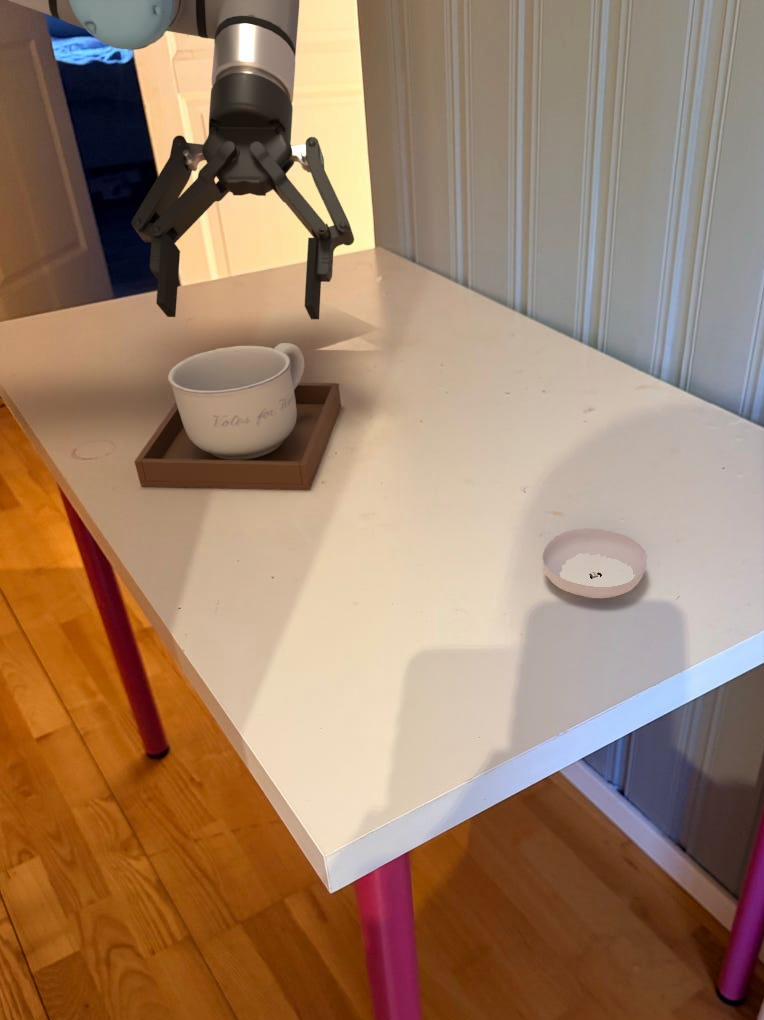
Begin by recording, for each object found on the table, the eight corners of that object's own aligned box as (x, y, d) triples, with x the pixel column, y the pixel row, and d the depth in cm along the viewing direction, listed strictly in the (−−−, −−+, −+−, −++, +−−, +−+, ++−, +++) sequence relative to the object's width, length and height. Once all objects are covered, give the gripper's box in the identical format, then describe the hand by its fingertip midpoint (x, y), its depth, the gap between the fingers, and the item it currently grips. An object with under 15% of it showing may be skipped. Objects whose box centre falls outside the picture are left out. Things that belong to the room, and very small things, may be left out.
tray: (140, 486, 82) (134, 461, 80) (195, 403, 95) (191, 380, 93) (309, 489, 81) (306, 464, 79) (341, 406, 94) (338, 383, 93)
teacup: (225, 485, 81) (208, 400, 76) (163, 445, 87) (143, 363, 82) (350, 435, 88) (342, 354, 83) (285, 401, 94) (274, 323, 89)
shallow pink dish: (664, 594, 69) (667, 574, 67) (567, 617, 66) (569, 596, 65) (615, 540, 74) (617, 520, 73) (525, 560, 72) (525, 539, 71)
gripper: (389, 124, 90) (379, 331, 87) (138, 122, 91) (122, 327, 88) (377, 68, 82) (366, 294, 80) (105, 67, 83) (86, 289, 81)
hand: (238, 312), depth 84 cm, fingers open, 13 cm apart
